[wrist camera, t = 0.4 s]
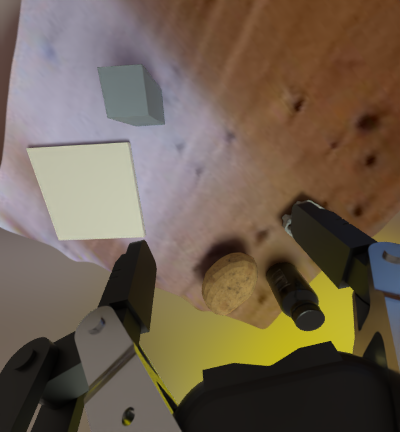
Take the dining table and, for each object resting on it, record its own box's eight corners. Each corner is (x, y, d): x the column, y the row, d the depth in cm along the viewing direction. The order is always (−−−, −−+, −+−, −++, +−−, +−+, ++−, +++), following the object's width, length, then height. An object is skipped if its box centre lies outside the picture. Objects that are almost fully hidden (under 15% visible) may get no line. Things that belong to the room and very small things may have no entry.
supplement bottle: (269, 289, 43) (292, 339, 32) (262, 266, 41) (284, 311, 30) (299, 281, 42) (333, 330, 31) (294, 257, 40) (329, 300, 29)
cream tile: (31, 148, 33) (26, 148, 32) (130, 142, 33) (127, 142, 32) (62, 238, 40) (59, 240, 39) (145, 234, 39) (144, 237, 38)
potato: (264, 253, 40) (278, 278, 33) (229, 298, 44) (234, 328, 37) (225, 233, 39) (230, 254, 31) (193, 281, 43) (190, 310, 35)
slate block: (130, 92, 30) (97, 67, 21) (161, 89, 30) (141, 64, 20) (136, 126, 32) (107, 117, 22) (165, 124, 32) (148, 115, 22)
